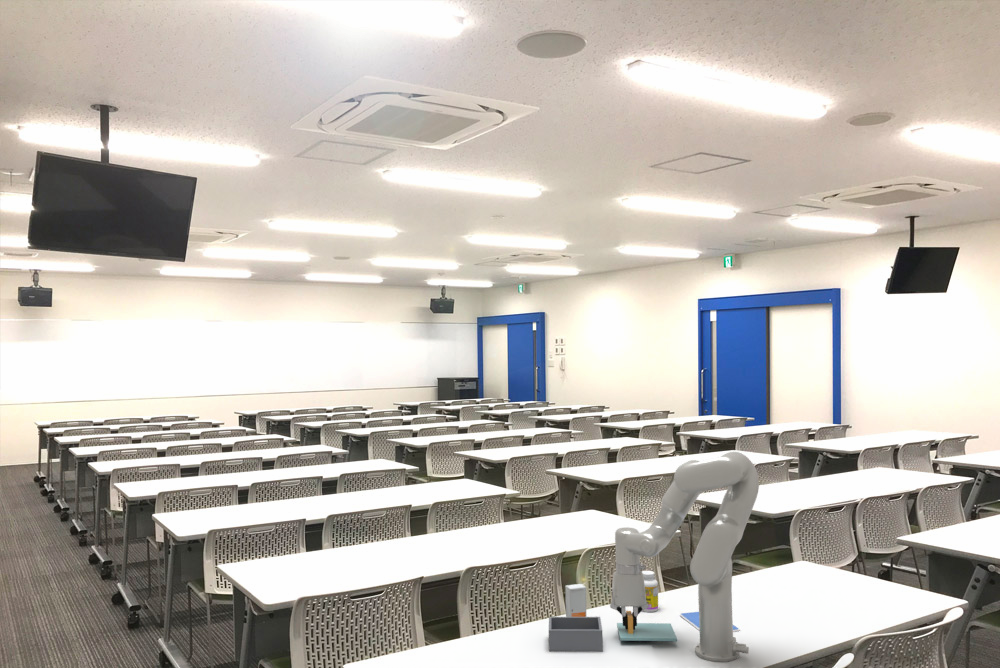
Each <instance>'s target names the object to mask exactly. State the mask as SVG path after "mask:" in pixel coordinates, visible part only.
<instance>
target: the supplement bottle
mask: <svg viewBox="0 0 1000 668" xmlns="http://www.w3.org/2000/svg"><path fill="white" fill-rule="evenodd" d="M641 572H642V573H643V577H644V584H645V594H646V601H647V603H648V606H649V608H647V609H645V610H642V611H641V612H644V613H655V612H657V611H658V610H659V587H658V585H659V584H658V581H657V579H655V576H656V574H655V572H654V571H652V570H643V571H642V570H641Z"/></svg>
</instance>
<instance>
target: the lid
mask: <svg viewBox="0 0 1000 668" xmlns="http://www.w3.org/2000/svg"><path fill="white" fill-rule="evenodd" d="M626 614H627V617H628V629H627V630H626V629H625V626H623V622H617V623H616V626H617V627H616V628H617V632H618V636H619V640H620V641H625V642H626V641H633V642H634V641H635V642H637V641H638V642H642V641H643V642H645V641H646V642H648V641H649V642H650V641H651V642H678V638H677V635H676V632H675V630H674V628H673V626H672V623H669V622H667V623H664V622H663V623H661V622H660V623H659V622H657V623H656V622H655V623H651V622H650V623H649V622H648V623H647V622H637V626H635V630H633V616H632V611H631V610H626Z"/></svg>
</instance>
